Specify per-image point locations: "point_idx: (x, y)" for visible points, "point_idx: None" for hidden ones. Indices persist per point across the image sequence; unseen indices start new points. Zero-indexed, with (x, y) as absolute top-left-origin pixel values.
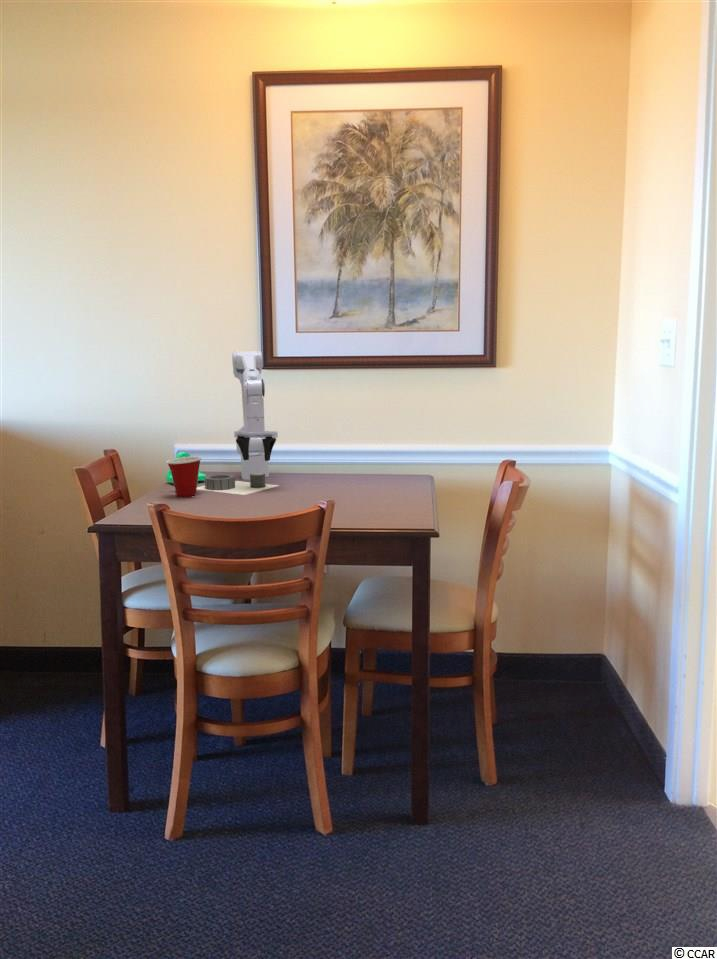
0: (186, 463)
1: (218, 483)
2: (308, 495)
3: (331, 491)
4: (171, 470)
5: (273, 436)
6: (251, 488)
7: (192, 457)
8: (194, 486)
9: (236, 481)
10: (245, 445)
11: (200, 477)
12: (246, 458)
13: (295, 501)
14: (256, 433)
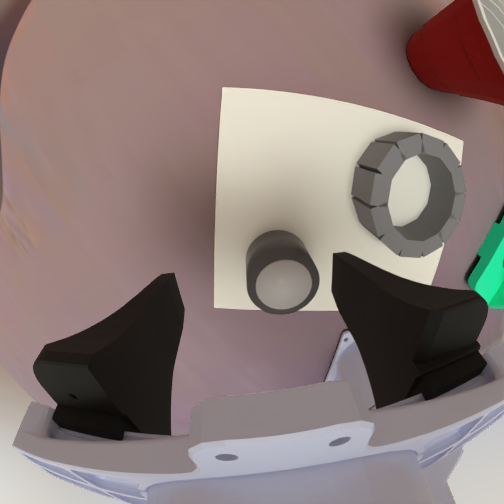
0: None
1: (394, 137)
2: (57, 234)
3: (58, 307)
4: (499, 19)
5: (33, 414)
6: (279, 216)
7: None
8: (421, 44)
9: None
10: (379, 334)
11: (482, 267)
12: (335, 271)
13: (36, 138)
14: (163, 455)
